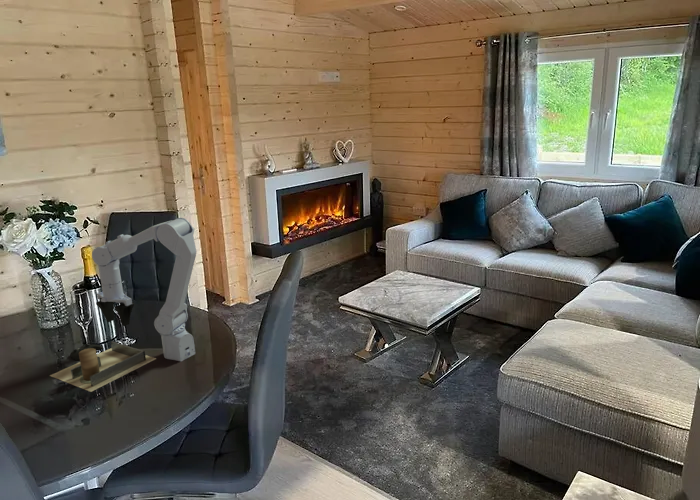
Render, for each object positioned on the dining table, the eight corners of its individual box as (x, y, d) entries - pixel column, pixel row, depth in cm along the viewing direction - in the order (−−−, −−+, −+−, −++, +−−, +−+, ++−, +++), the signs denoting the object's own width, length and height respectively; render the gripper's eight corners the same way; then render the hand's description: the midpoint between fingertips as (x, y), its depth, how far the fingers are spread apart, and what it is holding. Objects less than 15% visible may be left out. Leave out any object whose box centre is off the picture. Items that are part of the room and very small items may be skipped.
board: (157, 361, 161) (156, 357, 161) (91, 395, 143) (90, 390, 143) (116, 348, 171) (115, 345, 171) (50, 378, 153) (49, 374, 153)
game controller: (84, 362, 161) (70, 348, 161) (76, 372, 163) (62, 358, 163) (106, 348, 170) (93, 335, 170) (98, 358, 172) (85, 345, 172)
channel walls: (146, 360, 160) (144, 351, 159) (92, 386, 145) (90, 376, 145) (113, 349, 168) (112, 341, 167) (60, 374, 153) (58, 364, 153)
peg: (103, 375, 151) (99, 350, 149) (89, 382, 147) (84, 356, 145) (94, 372, 153) (89, 347, 151) (80, 378, 150) (75, 353, 148)
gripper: (85, 283, 162) (92, 323, 165) (114, 289, 155) (121, 331, 158) (105, 276, 168) (112, 315, 171) (135, 282, 160) (141, 323, 164)
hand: (118, 323), depth 165 cm, fingers open, 7 cm apart
